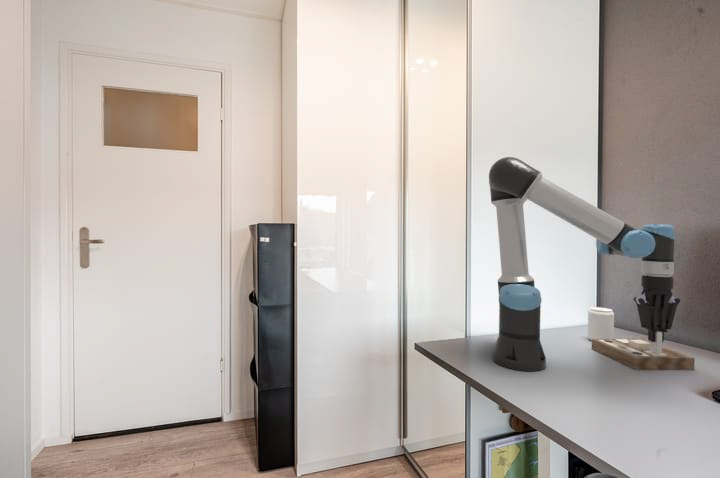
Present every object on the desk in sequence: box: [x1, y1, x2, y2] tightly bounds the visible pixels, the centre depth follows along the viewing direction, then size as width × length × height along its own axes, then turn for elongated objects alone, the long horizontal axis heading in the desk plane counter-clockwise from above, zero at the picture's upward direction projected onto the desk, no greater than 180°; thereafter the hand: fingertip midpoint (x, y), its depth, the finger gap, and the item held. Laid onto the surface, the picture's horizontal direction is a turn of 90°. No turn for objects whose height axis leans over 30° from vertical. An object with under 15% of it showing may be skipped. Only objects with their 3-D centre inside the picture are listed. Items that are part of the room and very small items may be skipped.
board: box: [591, 338, 695, 371], centre depth 116 cm, size 18×19×4 cm
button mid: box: [628, 340, 650, 350], centre depth 116 cm, size 4×4×3 cm
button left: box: [614, 338, 628, 344], centre depth 122 cm, size 4×4×3 cm
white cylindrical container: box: [587, 306, 615, 341], centre depth 135 cm, size 8×8×12 cm
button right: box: [643, 351, 667, 357], centre depth 110 cm, size 4×4×3 cm
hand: (655, 352), depth 110 cm, fingers closed
